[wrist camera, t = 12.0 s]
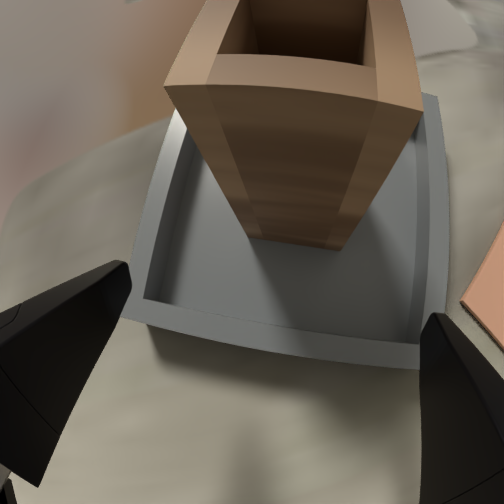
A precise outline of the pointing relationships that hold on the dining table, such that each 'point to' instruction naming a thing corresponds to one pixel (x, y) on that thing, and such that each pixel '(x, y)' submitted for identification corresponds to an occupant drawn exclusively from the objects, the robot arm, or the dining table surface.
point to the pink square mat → (489, 291)
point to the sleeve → (298, 109)
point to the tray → (296, 262)
